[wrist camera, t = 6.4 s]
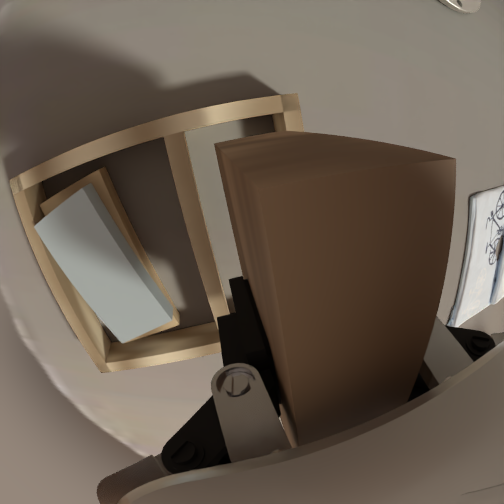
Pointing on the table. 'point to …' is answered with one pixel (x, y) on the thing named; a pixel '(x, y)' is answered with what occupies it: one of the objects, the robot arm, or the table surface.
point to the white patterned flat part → (481, 257)
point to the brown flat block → (340, 267)
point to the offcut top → (103, 266)
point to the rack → (172, 129)
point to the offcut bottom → (118, 214)
